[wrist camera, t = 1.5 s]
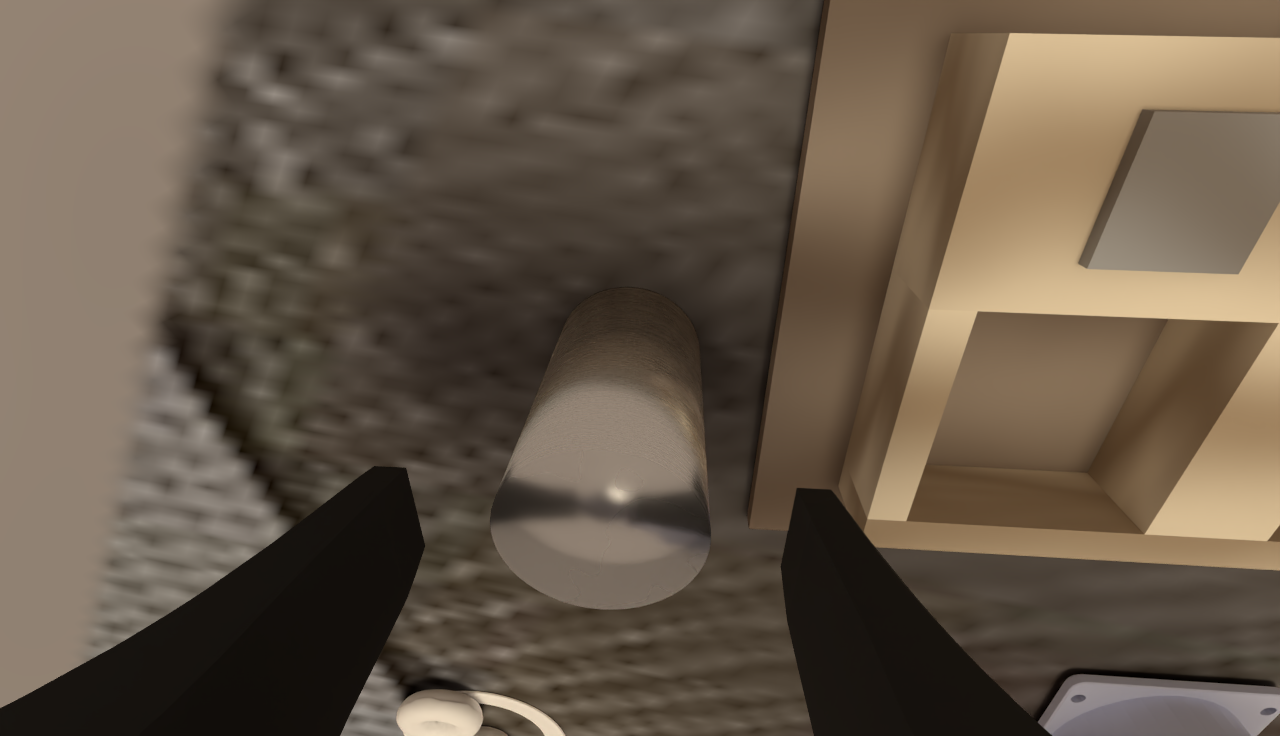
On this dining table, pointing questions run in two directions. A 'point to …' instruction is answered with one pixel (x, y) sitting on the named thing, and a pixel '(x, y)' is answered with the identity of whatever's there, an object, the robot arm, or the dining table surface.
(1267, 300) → the socket block
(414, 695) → the teacup and saucer
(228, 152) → the dining table surface
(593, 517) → the peg
